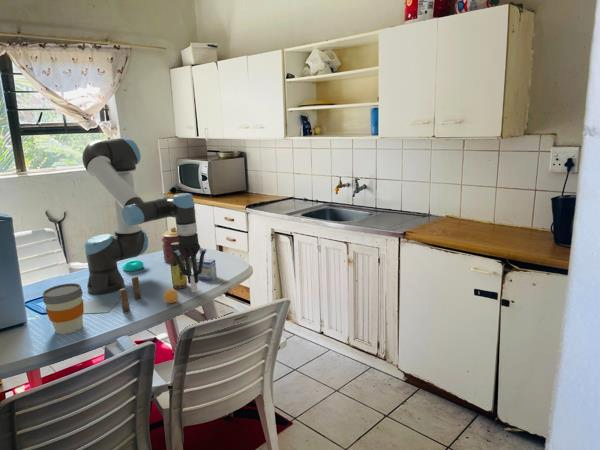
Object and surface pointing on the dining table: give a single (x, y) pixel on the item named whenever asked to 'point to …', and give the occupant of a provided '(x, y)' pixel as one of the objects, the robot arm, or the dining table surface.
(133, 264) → the donuts
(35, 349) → the dining table surface
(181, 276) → the sauce bottle
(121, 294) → the post
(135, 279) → the post
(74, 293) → the reusable coffee cup
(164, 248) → the canister
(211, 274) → the medicine box
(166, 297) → the ball
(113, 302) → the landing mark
